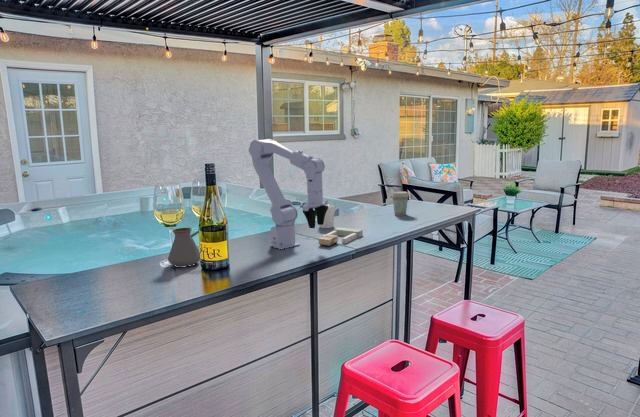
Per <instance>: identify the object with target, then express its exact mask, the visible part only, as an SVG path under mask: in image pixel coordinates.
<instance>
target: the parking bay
mask: <svg viewBox="0 0 640 417" xmlns="http://www.w3.org/2000/svg"><path fill="white" fill-rule="evenodd" d="M325 235H335V236H341V237H342V239H341V243H342V244H345V243H346V244H347V243H350V242H351V241H353V240H355V239H357V238H358V239H359V238H361V237H362V236H363V229H359V228H357V229H356V228H348V227H335V228H334V229H333V230H332V231H330V232H328V233H326V234H324V235H322V236H321V237H323V236H325Z"/></svg>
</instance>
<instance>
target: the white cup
mask: <svg viewBox="0 0 640 417" xmlns="http://www.w3.org/2000/svg"><path fill="white" fill-rule="evenodd" d="M325 206H328V210H327V212H326V214H325V218H324V223H323V225H318V227H319V228H321V229H332V228H334V225H335V222H334V221H335V205H333V204H327V205H325Z"/></svg>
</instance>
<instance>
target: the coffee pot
mask: <svg viewBox="0 0 640 417" xmlns="http://www.w3.org/2000/svg"><path fill="white" fill-rule="evenodd" d="M192 230H193V229H192V228H191V227H179V228H174V229H173V230H172V232H173V233H174V239H173V242H172V246H171V248H170V251H169V254H168V257H167V261H168V262H169V264H170V265H172V264H173V265H172V266H174V265H176V266H189V265H193V264H195V263H197V264H198V263H199V261H200V260H201V259H200V253H201V251H200V249H199V247H198V245H197V244H196V243H195V240H194V239H193V237H194V236H195V237H196V235H198V234H200V233H199V230H196V232H193V233H192V234H191V232H192ZM199 251H200V252H199Z"/></svg>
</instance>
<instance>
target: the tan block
mask: <svg viewBox="0 0 640 417" xmlns="http://www.w3.org/2000/svg"><path fill="white" fill-rule="evenodd" d="M324 235H325V236H323V235H322V236H323V237H322V236H321V237H318V245H320V246H327V247H329V248H330V247H332V245H334V244H337V243H338V242H339V235H337V236H335V235H326V234H324Z"/></svg>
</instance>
